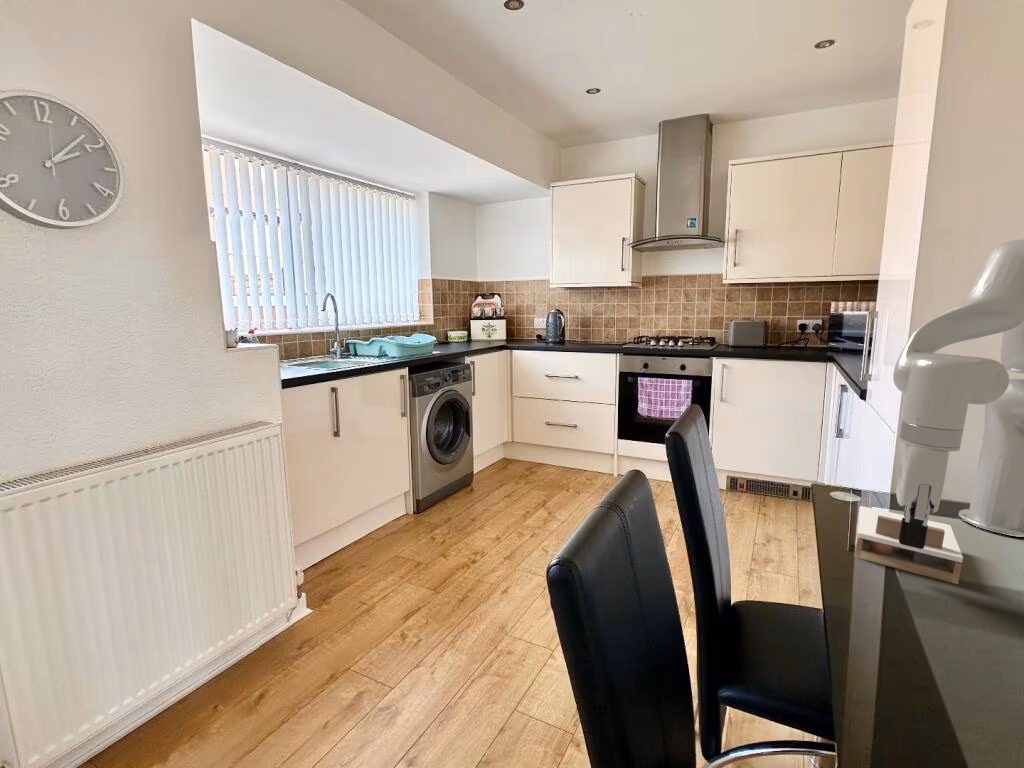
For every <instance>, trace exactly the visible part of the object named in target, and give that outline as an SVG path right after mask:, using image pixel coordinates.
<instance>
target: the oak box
mask: <svg viewBox="0 0 1024 768" xmlns="http://www.w3.org/2000/svg"><path fill="white" fill-rule="evenodd" d="M856 522H857V523H856V527H855V528H856V529H855V530H856V531H855V543H854V544H855V545H854V546H855V548H854V558H856V559H860V560H864V561H868V562H872V563H876V564H879V565H884V566H886V567H891V568H894V569H899V570H902V571H906V572H911V573H914V574H917V575H921V576H924V577H929V578H933V579H937V580H941V581H944V582H947V583H952V584H955V585H959V582H960V581H959V580H960V575H961V570H962V566H963V562H962V563H961V562H957V561H953V560H949V559H945V558H941V557H939V562H938V567H937V568H934V567H930V566H926V565H922V564H918V563H914V562H911V557H912V552H913V551H912V552H905V551H902V550H900V549H899V548H898V547H896V546H894V549H893V555H892V557H890V556H886V555H882V554H878V553H875V552H871V551H869V548H870V542H871V540H867V539H863V538H859V537H858V524H859V513H858V515H857V521H856Z"/></svg>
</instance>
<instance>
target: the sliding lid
mask: <svg viewBox="0 0 1024 768" xmlns="http://www.w3.org/2000/svg"><path fill="white" fill-rule="evenodd" d="M858 510H859V511H858V514H859V524H858V537H859V538H863V539H867V540H871V541H875V542H879V543H883V544H887V545H892V546H896V547H900V548H904V549H908V550H912V551H916V552H920V553H924V554H928V555H933V556H937V557H941V558H945V559H949V560H953V561H957V562H961V563H962V564H963V560H964V557H963V553H962V551H961V549H960V547H959V544H958V542H957V539H956V536H955V534H954V531H953V529H952V526H951V524H947V523H941V522H937V521H933V520H929V519H928V522H927V525H928V528H927V534H926V539H925V545H924V548H923V549H919V548H915V547H910V546H906V545H902V544H900V543H899V533H900V528H901V522H902V518H905V517H904V514H901V513H895V512H892V511H886V510H882V509H881V510H880V509H878V508H877V509H876V508H872V507H867V506H863V505H859V509H858Z"/></svg>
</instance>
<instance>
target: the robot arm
mask: <svg viewBox="0 0 1024 768" xmlns="http://www.w3.org/2000/svg"><path fill="white" fill-rule="evenodd" d="M999 333H1002V338H1001V348H1000V362H999V361H997V360H995V359H991V358H988V357H987V358H986V357H979V356H970V355H969V356H966V355H961V354H960V355H959V354H946V353H936V352H938V351H940V350H941V349H943V348H945V347H948V346H951V345H953V344H957V343H960V342H964V341H965V342H966V341H969V340H974V339H979V338H985V337H988V336H993V335H995V334H996V335H997V334H999ZM1008 371H1009V372H1013V373H1016V374H1023V375H1024V239H1014V240H1009V241H1006V242H1005V241H1004V242H1002V243H1000V244H998V245H996V246H994V247H993V248H992V249H990V250H989V251H988V253H986V255H985V256H984V259H983V261H982V262H981V264H980V266H979V269H978V270H977V271H976V274H975V276H974V278H973V280H972V282H971V284H970V286H969V288H968V289H967V292H966V294H965V295H964V297H963V299H962V302H961V303H960V304H958V305H956V306H954V307H951V308H949V309H947V310H945V311H943V312H942V313H940V314H938V315H936V316H934V317H933V318H930V320H928V321H926V322H924V323H923V324H921V325H920V326H919V327H917V329H915V331H914V332H913V333H912V334H911V335H910V336H909V337H908V340H907V341H906V343H905V345H904V347H903V348H902V351H901V352H900V355H899V357H898V358H897V360H896V364H895V366H894V369H893V379H892V380H893V383H894V385H895V387H896V388H897V390H899V391H900V392H902V393H904V394H906V395H905V400H904V406H903V411H902V417H901V418H902V420H901V426H900V431H899V437H898V441H899V442H900V443H902V444H905V446H904V450H903V453H902V454H903V455H902V458H901V464H900V469H899V475H898V478H897V479H898V480H897V484H896V490H895V493H896V500H897V503H898V505H899V506H900V507H904V506H905V507H904V514H903V515H904V517H905V518H902V522H901V528H900V533H899V543H900V544H902V545H906V546H910V547H915V548H919V549H923V548H924V545H925V539H926V534H927V528H928V525H927V522H928V520H929V517H930V512H931V513H936V512H938V510H939V507H940V503H941V499H942V494H943V492H944V491H943V489H944V485H945V481H946V475H947V468H948V461H949V457H950V452H959V451H960V449H961V445H962V440H963V434H964V429H965V423H966V418H967V413H968V408H969V407H968V405H969V404H970V405H979V406H980V405H984V428H983V429H984V430H983V436H982V443H981V448H980V453H979V457H978V461H977V462H978V463H977V466H976V467H977V468H976V473H975V478H974V483H973V488H972V494H971V498H970V499H971V500H970V504H969V508H965V509H961V510H959V511H958V515H959V516H960V517H961V518H962V519H964V520H965V521H967V522H969V523H970V524H973V525H975V526H976V527H975V528H977V527H980V528H984V529H988V530H991V531H994V532H999V533H1005V534H1012V535H1024V378H1010V376H1009V373H1008ZM959 516H958V517H959ZM970 524H969V525H970ZM980 528H979V529H980Z"/></svg>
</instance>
